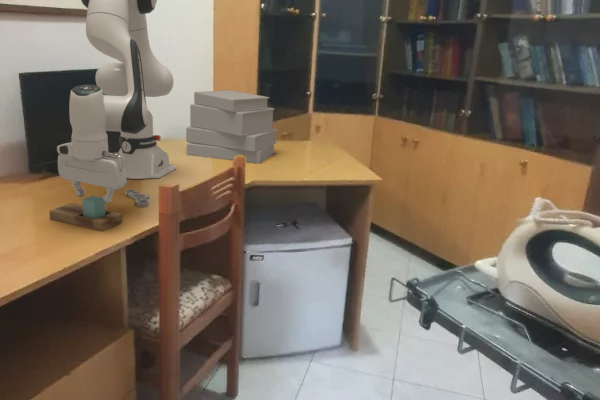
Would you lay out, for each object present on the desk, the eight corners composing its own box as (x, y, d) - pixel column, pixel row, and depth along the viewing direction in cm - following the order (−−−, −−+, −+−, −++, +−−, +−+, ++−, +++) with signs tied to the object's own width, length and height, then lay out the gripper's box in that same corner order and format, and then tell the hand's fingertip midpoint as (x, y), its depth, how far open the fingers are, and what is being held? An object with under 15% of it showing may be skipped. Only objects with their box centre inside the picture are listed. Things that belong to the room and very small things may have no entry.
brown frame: (72, 211, 155) (71, 202, 155) (122, 222, 149) (122, 213, 148) (50, 219, 148) (49, 210, 148) (102, 231, 142) (101, 222, 141)
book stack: (259, 166, 217) (261, 102, 210) (179, 157, 225) (178, 94, 218) (280, 151, 245) (283, 94, 238) (208, 143, 253) (209, 88, 245)
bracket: (124, 203, 160) (124, 188, 174) (124, 209, 161) (125, 194, 174) (151, 202, 163) (149, 187, 176) (151, 208, 163) (149, 193, 177)
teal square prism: (94, 219, 150) (92, 195, 148) (105, 222, 149) (104, 197, 147) (83, 223, 147) (82, 199, 145) (95, 226, 145) (93, 201, 143)
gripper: (130, 152, 141) (132, 202, 145) (70, 141, 148) (73, 189, 153) (113, 157, 135) (116, 209, 140) (51, 146, 143) (56, 195, 147)
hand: (94, 198), depth 146 cm, fingers open, 8 cm apart
